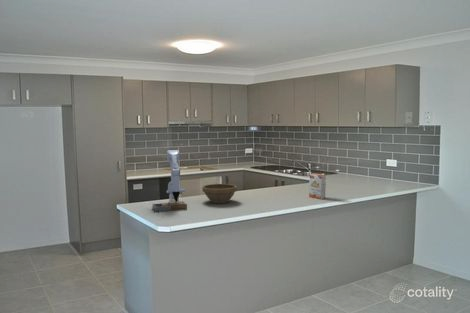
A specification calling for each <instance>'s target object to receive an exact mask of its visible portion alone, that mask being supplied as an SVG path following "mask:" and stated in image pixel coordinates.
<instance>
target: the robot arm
mask: <svg viewBox="0 0 470 313" xmlns="http://www.w3.org/2000/svg"><path fill="white" fill-rule="evenodd" d="M179 159H180V150H179V149H178V150H177V149H176V150H175V149H174V150H172V149H171V150H169V149H168V150H166V160H167V162H168V163H169V165H170V166H169V167H170V181H169V182H168V184H167V190H166V193H167V194H168V197H169V198H168V200H169V199H175V202H177V201H180V195H181V193H182V192H183V193H185V192H186V189H185V188H181V183H180V176H181V168H180V167H179V163H178V161H179Z"/></svg>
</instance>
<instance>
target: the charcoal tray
mask: <svg viewBox="0 0 470 313" xmlns="http://www.w3.org/2000/svg"><path fill="white" fill-rule="evenodd" d="M165 203H167V204H168V202H162V203H161V202H160V203H152V210H153V211H154V212H155V213H157V212H160V211H161V212H169V211H170V212H171V211H172V210H171V205H170V204H168V206H162V207H161V204H165Z"/></svg>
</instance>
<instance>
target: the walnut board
mask: <svg viewBox="0 0 470 313" xmlns="http://www.w3.org/2000/svg"><path fill="white" fill-rule="evenodd" d="M167 203H168V204H170V205H171V211H184V210H188V204H187V203H186V202H185V201H183V200H179V201H177V202H175V203H169V201H168V202H167Z"/></svg>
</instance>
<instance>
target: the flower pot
mask: <svg viewBox="0 0 470 313" xmlns="http://www.w3.org/2000/svg"><path fill="white" fill-rule="evenodd" d="M201 188H202V192H203V193H204V194H205V196H206V197H207V198H208V200H209V201H210V202H211V203H214V204H225V203H228V202H229V201H230V200H231V199H232V197H233V196H234V195H235V193H236V192H237V191H238V187H237V185H236V184H232V183H231V184H230V183H212V184H206V185H203V186H202V187H201Z"/></svg>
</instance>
